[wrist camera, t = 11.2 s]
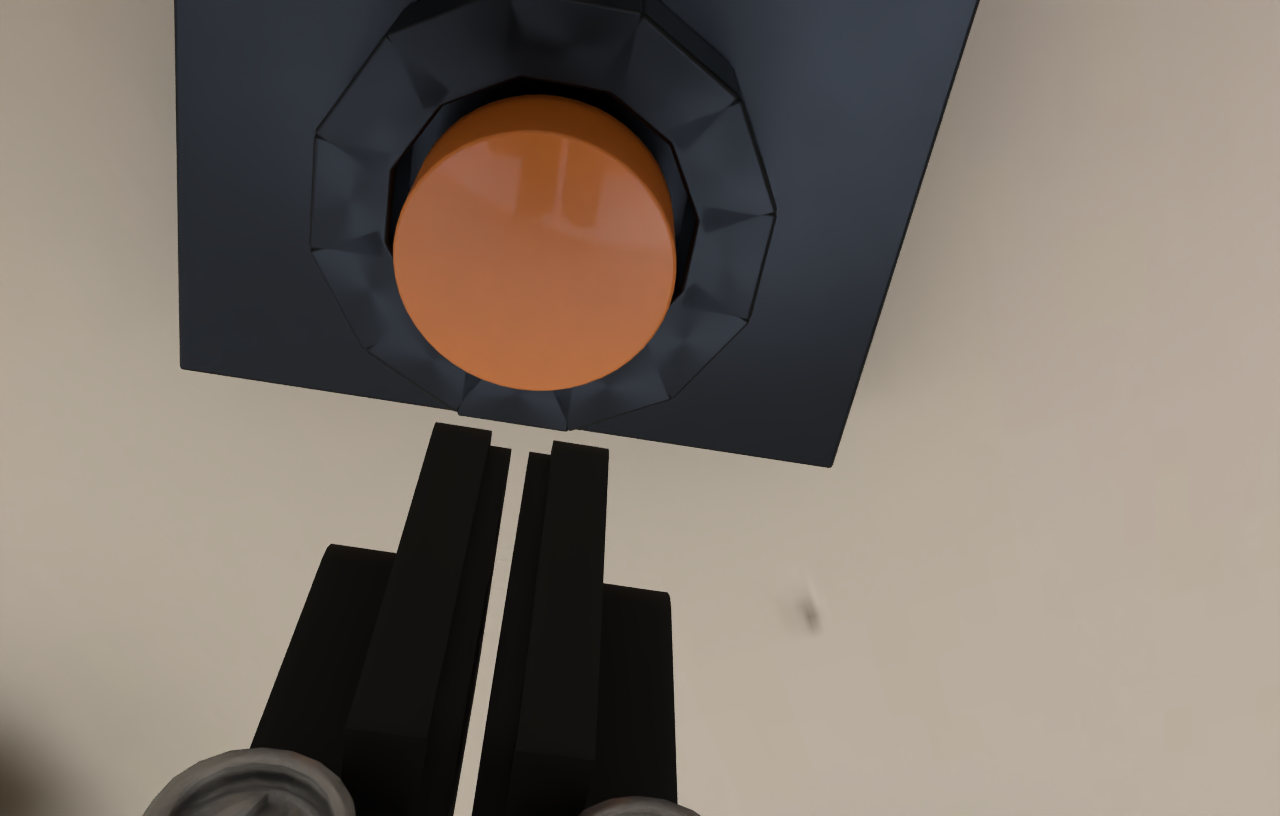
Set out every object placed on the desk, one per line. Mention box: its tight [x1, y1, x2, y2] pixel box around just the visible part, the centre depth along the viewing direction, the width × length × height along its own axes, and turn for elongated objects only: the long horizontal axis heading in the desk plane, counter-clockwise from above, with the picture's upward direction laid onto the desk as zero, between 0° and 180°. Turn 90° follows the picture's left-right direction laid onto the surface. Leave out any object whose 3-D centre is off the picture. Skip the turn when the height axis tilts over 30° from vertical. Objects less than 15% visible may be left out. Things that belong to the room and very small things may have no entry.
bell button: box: [393, 94, 676, 391], centre depth 18 cm, size 4×4×2 cm
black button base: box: [174, 0, 980, 468], centre depth 20 cm, size 12×9×4 cm
